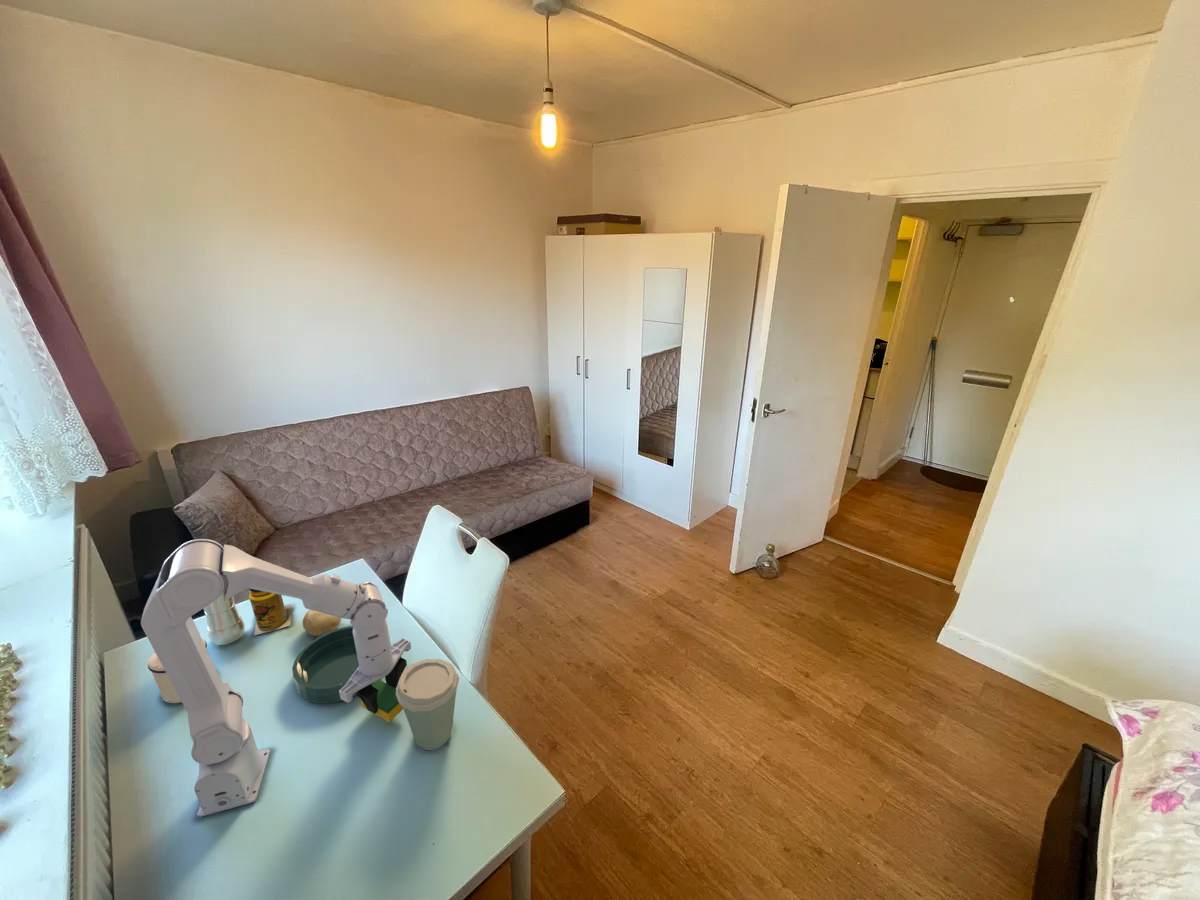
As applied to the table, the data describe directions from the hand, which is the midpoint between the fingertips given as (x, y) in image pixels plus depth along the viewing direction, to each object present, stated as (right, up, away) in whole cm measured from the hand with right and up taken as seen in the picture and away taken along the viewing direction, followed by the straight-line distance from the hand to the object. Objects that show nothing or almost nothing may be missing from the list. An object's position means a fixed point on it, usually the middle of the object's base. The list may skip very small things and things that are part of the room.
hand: (383, 700), depth 94 cm
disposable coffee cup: (+11, -5, -3) cm, 13 cm away
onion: (-24, +6, +22) cm, 33 cm away
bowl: (-13, +1, +11) cm, 17 cm away
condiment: (-37, +7, +24) cm, 45 cm away
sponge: (0, -1, 0) cm, 1 cm away
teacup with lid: (-44, 0, +6) cm, 44 cm away
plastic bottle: (-44, +5, +18) cm, 48 cm away
